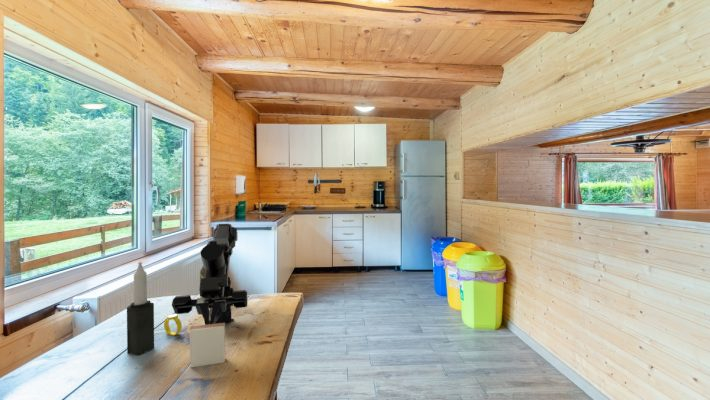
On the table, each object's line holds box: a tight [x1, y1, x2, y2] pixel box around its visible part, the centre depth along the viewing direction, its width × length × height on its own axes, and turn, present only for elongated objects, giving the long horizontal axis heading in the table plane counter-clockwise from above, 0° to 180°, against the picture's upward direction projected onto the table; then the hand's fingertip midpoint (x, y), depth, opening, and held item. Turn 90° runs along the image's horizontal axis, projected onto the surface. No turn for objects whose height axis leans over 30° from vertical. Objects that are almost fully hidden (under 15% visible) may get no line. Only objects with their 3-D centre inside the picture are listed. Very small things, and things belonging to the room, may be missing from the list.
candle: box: [126, 261, 155, 356], centre depth 84 cm, size 5×5×25 cm
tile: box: [188, 323, 226, 368], centre depth 77 cm, size 2×8×10 cm, turn 108°
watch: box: [163, 313, 183, 337], centre depth 93 cm, size 6×3×6 cm, turn 70°
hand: (208, 332), depth 78 cm, fingers closed
